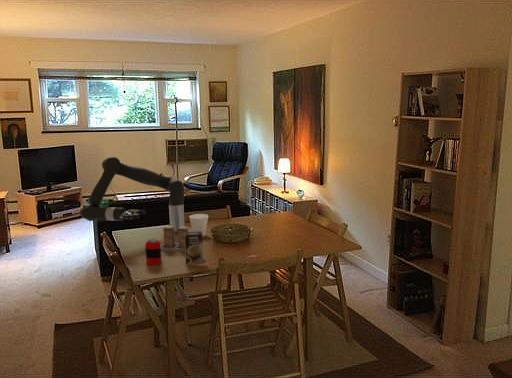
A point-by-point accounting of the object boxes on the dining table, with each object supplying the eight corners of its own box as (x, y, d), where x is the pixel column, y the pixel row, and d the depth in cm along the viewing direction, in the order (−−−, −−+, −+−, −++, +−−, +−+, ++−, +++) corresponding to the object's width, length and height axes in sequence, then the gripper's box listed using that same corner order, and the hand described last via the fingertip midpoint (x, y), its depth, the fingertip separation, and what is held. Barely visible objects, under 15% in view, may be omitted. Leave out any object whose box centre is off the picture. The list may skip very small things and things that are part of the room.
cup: (211, 236, 288) (210, 217, 286) (192, 239, 284) (191, 219, 282) (206, 232, 299) (205, 213, 297) (187, 234, 295) (187, 215, 293)
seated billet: (181, 246, 265) (180, 226, 263) (189, 247, 264) (188, 226, 262) (178, 249, 261) (177, 228, 258) (186, 249, 260) (185, 228, 258)
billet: (167, 246, 267) (166, 225, 264) (174, 246, 266) (173, 226, 264) (164, 248, 262) (163, 228, 260) (172, 249, 261) (171, 228, 259)
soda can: (143, 263, 244) (142, 240, 242) (156, 259, 249) (154, 237, 247) (151, 266, 239) (150, 244, 237) (164, 262, 244) (162, 240, 242)
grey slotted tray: (163, 246, 271) (162, 241, 271) (198, 247, 267) (197, 243, 267) (155, 253, 260) (154, 248, 259) (191, 254, 256) (191, 250, 255)
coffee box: (185, 265, 239) (184, 235, 236) (185, 261, 246) (183, 231, 242) (203, 264, 241) (202, 234, 238) (202, 260, 247) (201, 230, 244)
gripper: (108, 210, 260) (136, 211, 257) (120, 204, 273) (146, 205, 271) (110, 223, 261) (137, 224, 258) (121, 217, 275) (147, 217, 272)
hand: (142, 214), depth 264 cm, fingers open, 8 cm apart
